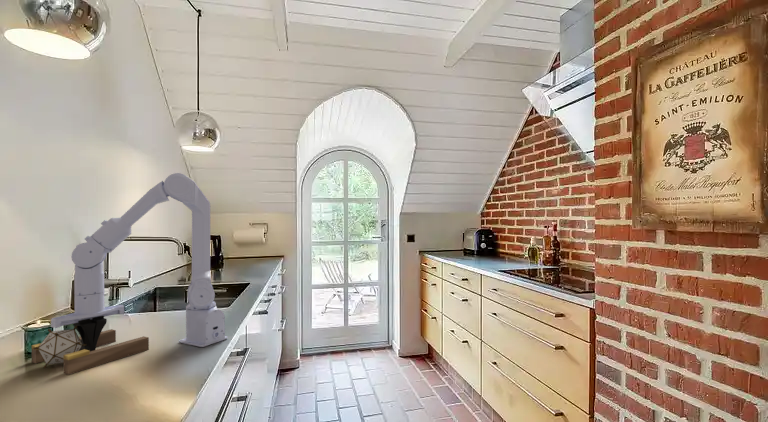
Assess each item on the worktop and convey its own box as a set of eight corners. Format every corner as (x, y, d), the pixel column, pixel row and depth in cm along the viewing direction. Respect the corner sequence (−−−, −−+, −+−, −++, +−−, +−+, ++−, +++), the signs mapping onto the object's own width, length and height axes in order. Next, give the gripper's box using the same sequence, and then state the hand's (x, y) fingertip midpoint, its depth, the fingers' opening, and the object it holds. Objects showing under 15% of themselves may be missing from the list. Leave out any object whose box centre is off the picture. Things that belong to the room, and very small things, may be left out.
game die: (62, 383, 88) (52, 356, 82) (30, 368, 88) (18, 340, 83) (97, 351, 95) (90, 324, 90) (67, 338, 96) (58, 310, 90)
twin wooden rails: (148, 349, 98) (148, 334, 98) (68, 374, 83) (68, 356, 83) (111, 340, 106) (111, 326, 106) (31, 362, 91) (31, 345, 91)
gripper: (112, 286, 102) (113, 339, 102) (44, 297, 89) (44, 357, 89) (128, 288, 99) (129, 343, 99) (59, 300, 86) (60, 362, 86)
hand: (90, 350), depth 94 cm, fingers closed
